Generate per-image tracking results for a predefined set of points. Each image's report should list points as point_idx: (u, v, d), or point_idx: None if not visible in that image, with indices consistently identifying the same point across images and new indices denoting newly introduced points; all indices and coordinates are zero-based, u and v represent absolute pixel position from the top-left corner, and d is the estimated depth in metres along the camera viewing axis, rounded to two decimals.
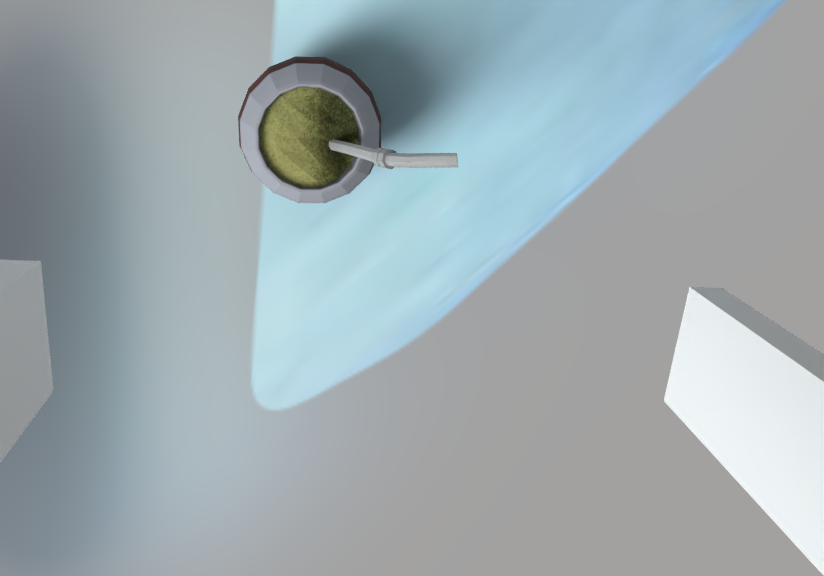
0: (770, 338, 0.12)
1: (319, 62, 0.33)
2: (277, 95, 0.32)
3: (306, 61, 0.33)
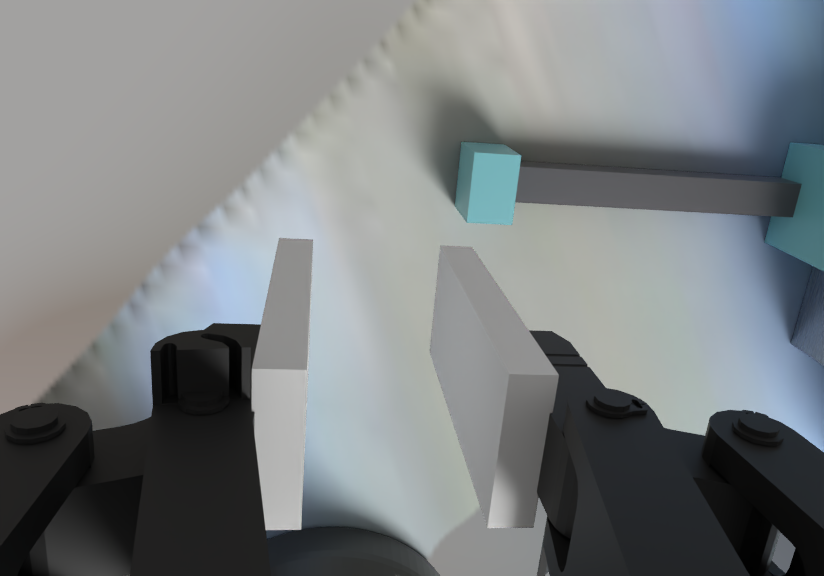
0: (468, 284, 0.14)
1: None
2: None
3: None
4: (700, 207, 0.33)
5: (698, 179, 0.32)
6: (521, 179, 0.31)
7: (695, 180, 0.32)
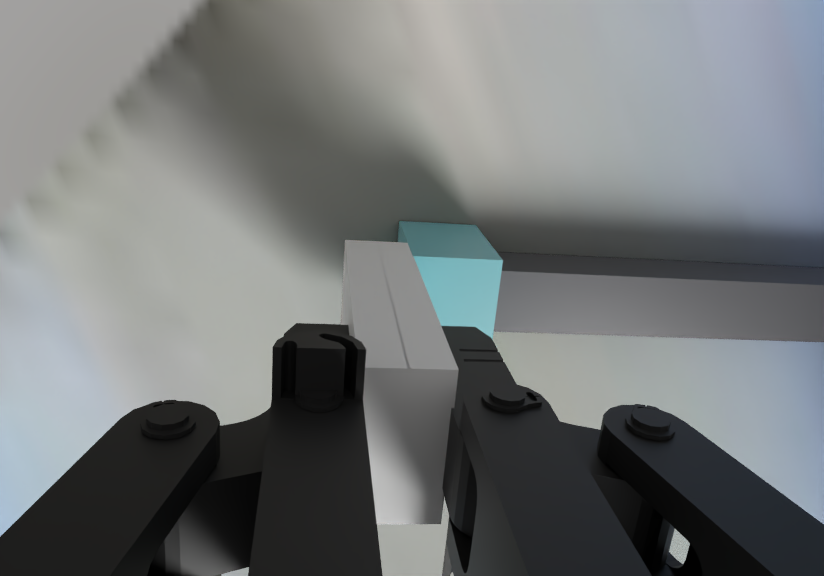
0: (393, 279, 0.14)
1: None
2: None
3: None
4: (818, 333, 0.19)
5: (817, 287, 0.18)
6: (506, 292, 0.17)
7: (812, 289, 0.18)
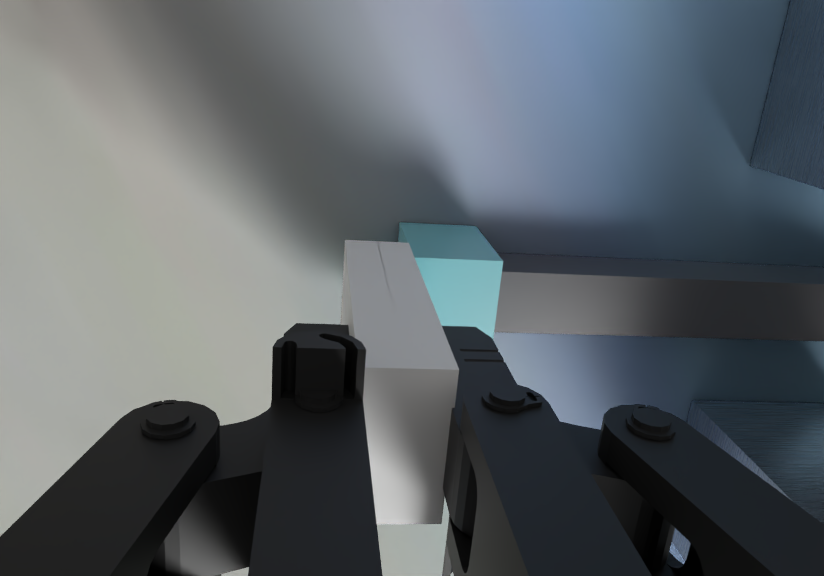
0: (393, 279, 0.14)
1: None
2: None
3: None
4: (818, 333, 0.19)
5: (816, 286, 0.18)
6: (506, 292, 0.17)
7: (812, 288, 0.18)
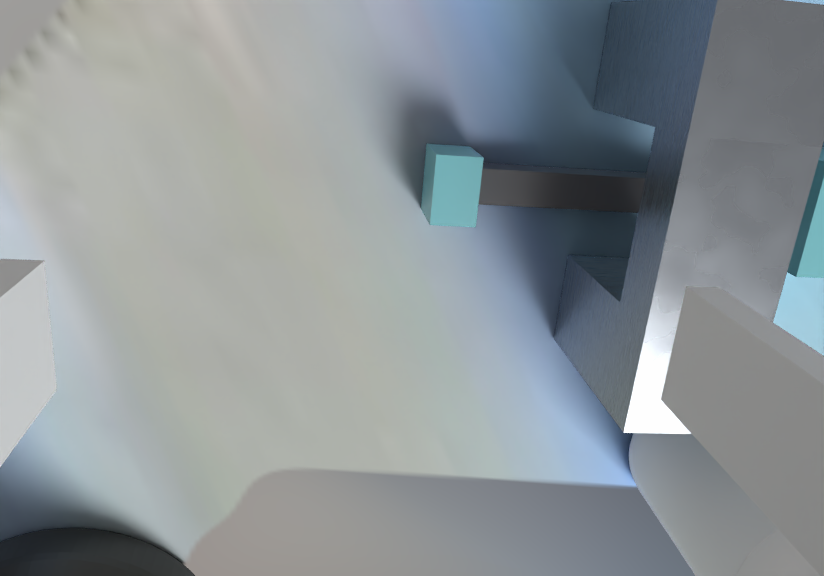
0: (766, 337, 0.12)
1: None
2: None
3: None
4: None
5: None
6: (486, 180, 0.31)
7: None
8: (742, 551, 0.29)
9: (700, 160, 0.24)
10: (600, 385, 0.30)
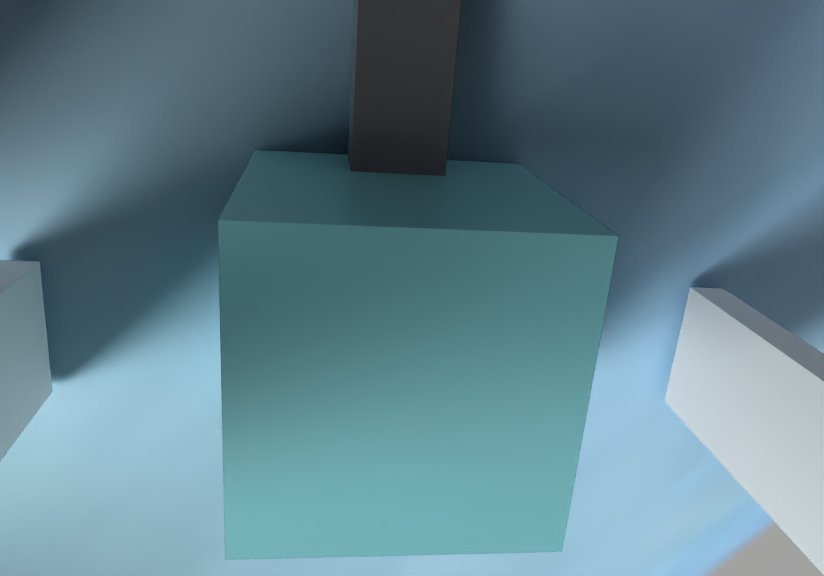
0: (771, 338, 0.12)
1: None
2: None
3: None
4: None
5: None
6: None
7: None
8: None
9: None
10: None
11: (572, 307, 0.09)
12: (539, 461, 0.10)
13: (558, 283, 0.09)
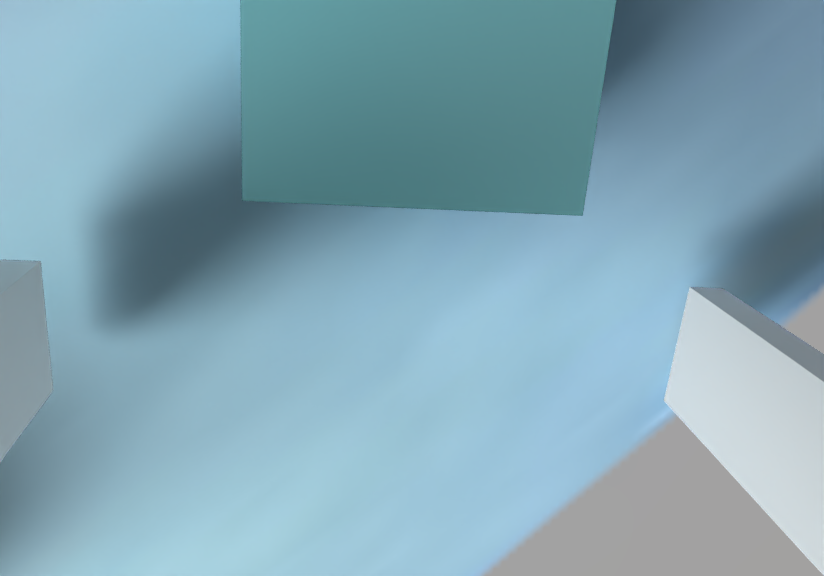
0: (770, 338, 0.12)
1: None
2: None
3: None
4: None
5: None
6: None
7: None
8: None
9: None
10: None
11: None
12: (560, 102, 0.10)
13: None
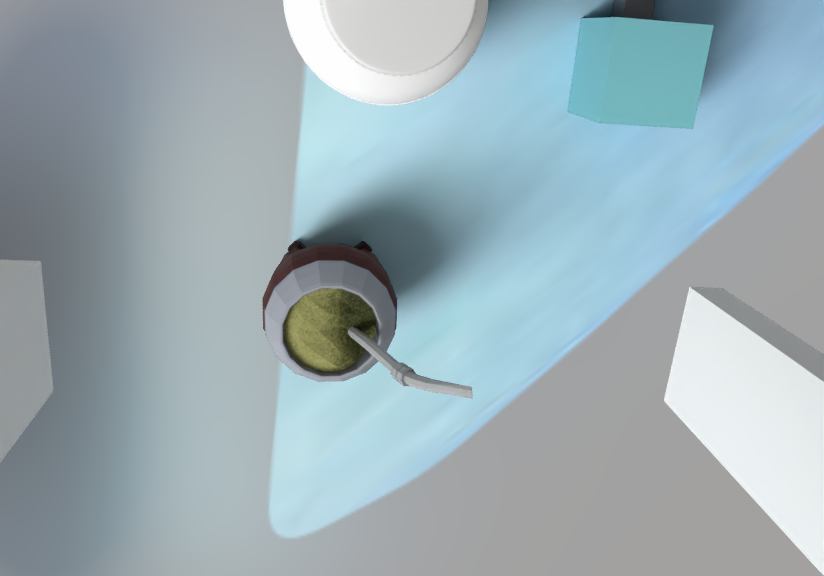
0: (770, 338, 0.12)
1: (340, 257, 0.35)
2: (301, 296, 0.34)
3: (327, 256, 0.35)
4: None
5: None
6: None
7: None
8: None
9: None
10: None
11: (700, 46, 0.35)
12: (688, 95, 0.36)
13: (697, 38, 0.35)
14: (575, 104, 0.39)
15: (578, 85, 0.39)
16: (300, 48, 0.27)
